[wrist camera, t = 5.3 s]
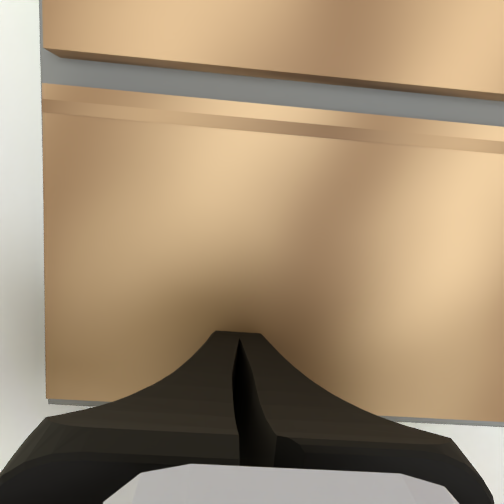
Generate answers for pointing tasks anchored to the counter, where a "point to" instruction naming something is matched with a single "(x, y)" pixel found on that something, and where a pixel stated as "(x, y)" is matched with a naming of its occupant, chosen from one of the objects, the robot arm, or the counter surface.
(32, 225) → the counter surface
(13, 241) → the counter surface
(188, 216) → the plank
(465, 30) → the strip
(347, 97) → the underlay
